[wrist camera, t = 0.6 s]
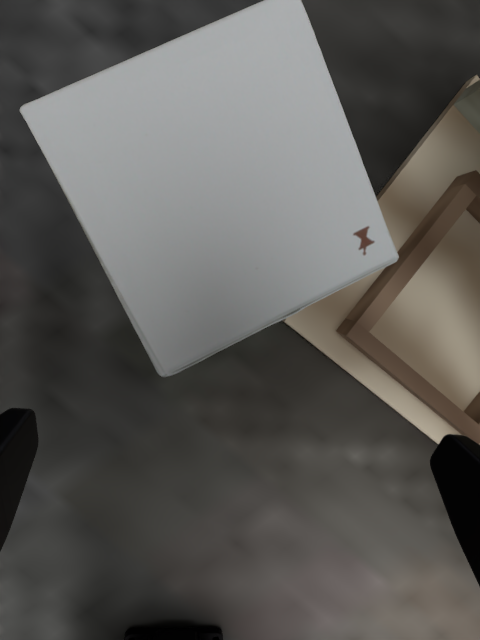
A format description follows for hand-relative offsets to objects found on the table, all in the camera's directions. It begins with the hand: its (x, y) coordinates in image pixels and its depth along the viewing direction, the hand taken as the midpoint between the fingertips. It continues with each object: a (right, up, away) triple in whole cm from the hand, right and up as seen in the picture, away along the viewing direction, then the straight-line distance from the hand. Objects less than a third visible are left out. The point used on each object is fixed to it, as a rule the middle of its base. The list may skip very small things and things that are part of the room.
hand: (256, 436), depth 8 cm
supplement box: (-3, +8, +13) cm, 16 cm away
